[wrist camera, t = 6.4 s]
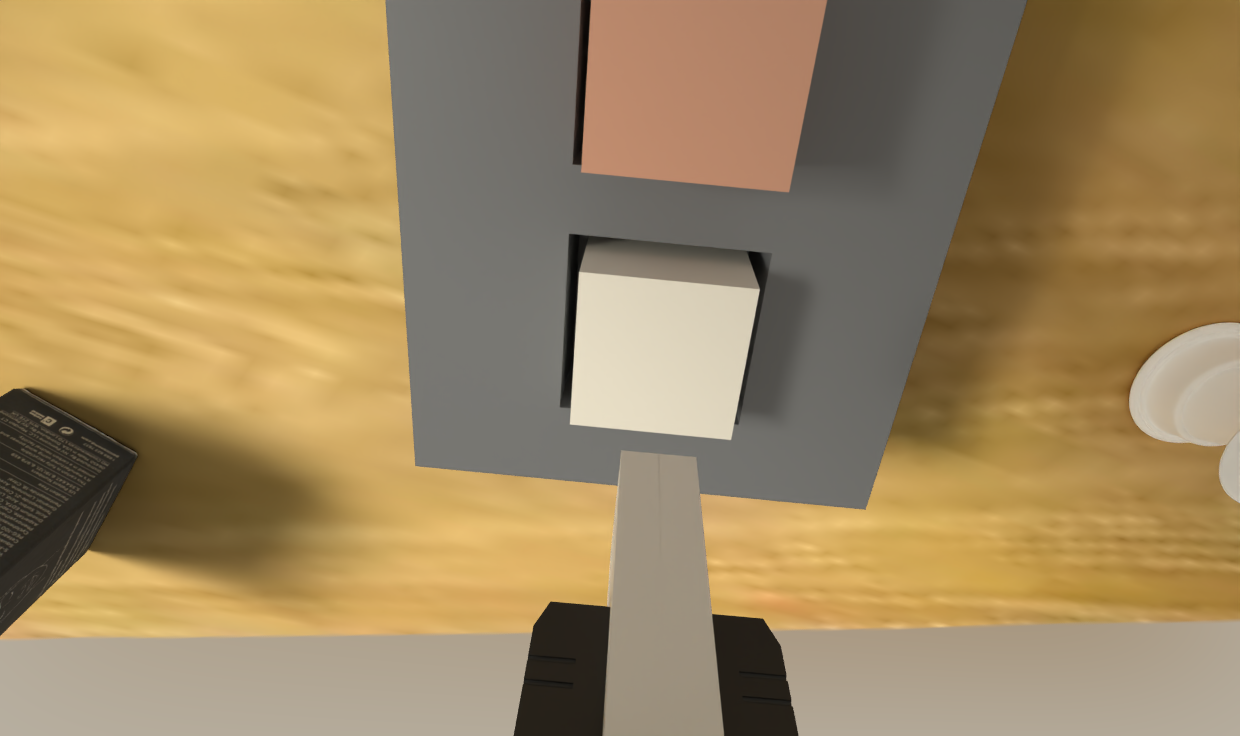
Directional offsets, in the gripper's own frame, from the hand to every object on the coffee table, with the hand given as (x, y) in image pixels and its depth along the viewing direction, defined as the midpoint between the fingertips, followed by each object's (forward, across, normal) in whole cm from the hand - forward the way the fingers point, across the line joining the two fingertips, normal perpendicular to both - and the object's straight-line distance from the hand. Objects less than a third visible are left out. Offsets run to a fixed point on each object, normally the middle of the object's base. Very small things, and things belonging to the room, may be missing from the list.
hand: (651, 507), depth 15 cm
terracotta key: (+10, 0, +8) cm, 12 cm away
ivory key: (+11, 0, 0) cm, 11 cm away
